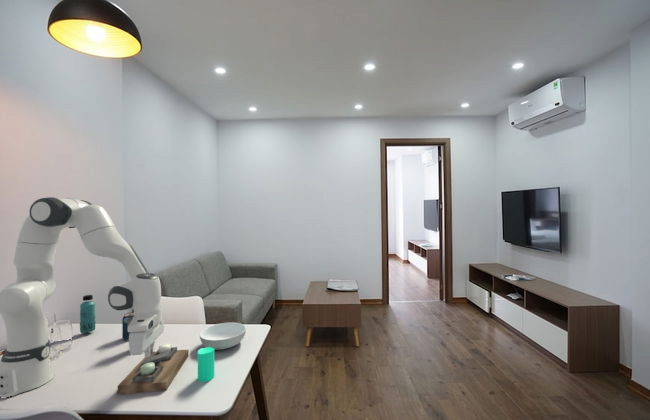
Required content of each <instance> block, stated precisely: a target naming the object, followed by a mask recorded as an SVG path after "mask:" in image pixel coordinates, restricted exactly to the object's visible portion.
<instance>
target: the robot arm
mask: <svg viewBox="0 0 650 420" xmlns="http://www.w3.org/2000/svg"><path fill="white" fill-rule="evenodd" d="M66 228H69V229H76V230H77V232H78V235H79V236H80V239H81V241H82V243H83V247H84V248H85V249H86V250H87V251H88V252H89V253H90V254H92V255H95V256H97V257H103V258H109V259H113V260H115V261H118V262H119V263H121V264H122V266H123V267H124V269H125V270H126V272H127V273H128V275H129V277H130V280H127V281H125V282H121V283H120V284H119V283H118V284H117V285H115V286H113V287H111V288H110V290H109V291H108V295H107V302H108V305H109V306H110V308H112V309H113V310H115V311H125V310H129V309H132V310H133V312H134V317H133V319H132V321H131V323H130V324H129V326H128V329H127V330H128V332H130V334H129V340H128V349H129V354H130V355H131V356H140V355H142V354H144V357H150V356H151V354H152V353H153V352H154V347H155V343H156V340H158V339H159V337H160V336H161V335H162V334H163V333H164V331H165V322H164V315H162V314H163V313H162V309H163V308H162V304H161V299H162V285H161V281H160V278H159V277H160V276H158V275H157V274H156V273H151V272H149V270H148V269H147V268H146V266H145V265H144V263H143V262H142V260H141V259H140V256H139V255H138V254H137V252H136V250H135V249H134V247H133V246H132V245H131V244H130V243H129V242H127V241H126V240H125V239H124V238H123V237H122V235H120V234H121V233H119V232H118V230H117V227H116V225H115V222H114V221H113V219H112V218H111V215H110V214H109V213H108V212H107V210H106V209H105V208H104V207H103V206H101V205H99V204H98V205H97V204H92V203H91V202H90V201H89V202H88V201H86V200H82V199H76V198H69V197H65V198H64V197H55V196H54V197H52V196H49V197H48V196H47V197H41V198H39V199H37V200H35V201H33V203H32V204H31V205H30V207H29V215H28V216H26V218H25V220H24V221H23V224H22V225H21V228H20V231H19V233H18V238H17V242H16V243H17V244H16V248H15V253H14V258H13V264H14V266H15V268H16V280H15V282H13V283H11V284H8V285H6V286H5V287H4V288H3V289H1V290H0V316H1V317H2V320H3V323H4V326H5V331H6V334H5V335H6V348H5V349H3V350H2V351H0V356H2V357H1V358H0V397H9V398H11V397H10V396H12V397H15V396H16V395H19V394H21V393H25V392H28V391H32V390H34V389H36V388H39V387H41V386H43V385H45V384H47V383H48V382H50V381H52V380H53V378H54V377H55V373H54V371H53V370H54V369H53V368H52V365H51V360H50V352H51V340H50V339H49V320H48V318H46V316H45V313H44V311H43V302H45V301H46V300H48V299H49V298H51V296H52V295H53V294H54V292H55V290H56V288H57V283H56V280H55V259H56V253H57V248H58V244H59V237H60V234H61V231H62V230H64V229H66Z"/></svg>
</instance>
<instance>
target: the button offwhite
mask: <svg viewBox="0 0 650 420" xmlns="http://www.w3.org/2000/svg"><path fill="white" fill-rule="evenodd" d="M171 347H172V344H171V343H168V342H167V343H162V344H161V345H159V346H158V349H159V353H160V354H162V353H165V352H168V351H171Z"/></svg>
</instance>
